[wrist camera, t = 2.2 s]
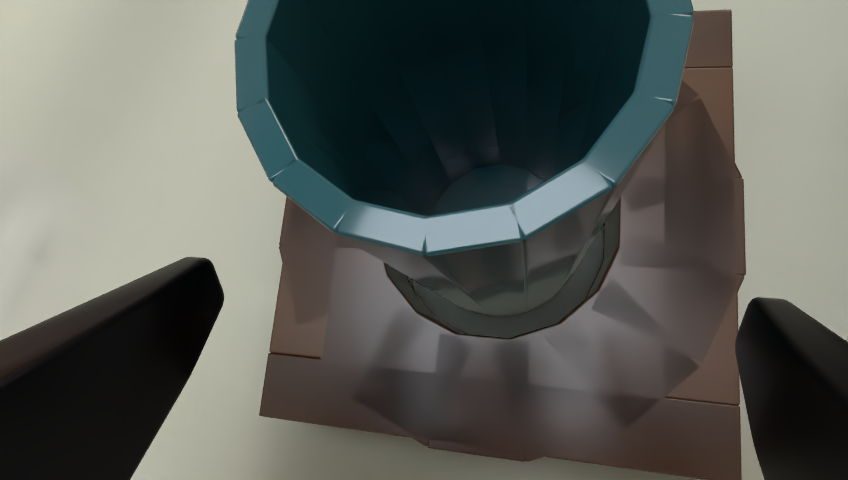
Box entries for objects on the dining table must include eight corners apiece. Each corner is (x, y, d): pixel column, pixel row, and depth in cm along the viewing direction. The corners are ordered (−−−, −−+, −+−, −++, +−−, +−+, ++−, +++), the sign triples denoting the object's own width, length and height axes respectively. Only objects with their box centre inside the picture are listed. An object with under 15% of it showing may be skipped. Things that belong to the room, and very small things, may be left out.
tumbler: (595, 304, 18) (749, 205, 5) (430, 325, 19) (240, 283, 6) (564, 147, 19) (633, -218, 7) (412, 175, 20) (228, -98, 8)
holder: (709, 467, 16) (752, 495, 13) (295, 410, 19) (250, 422, 16) (705, 58, 19) (739, 2, 16) (343, 65, 22) (312, 19, 19)
